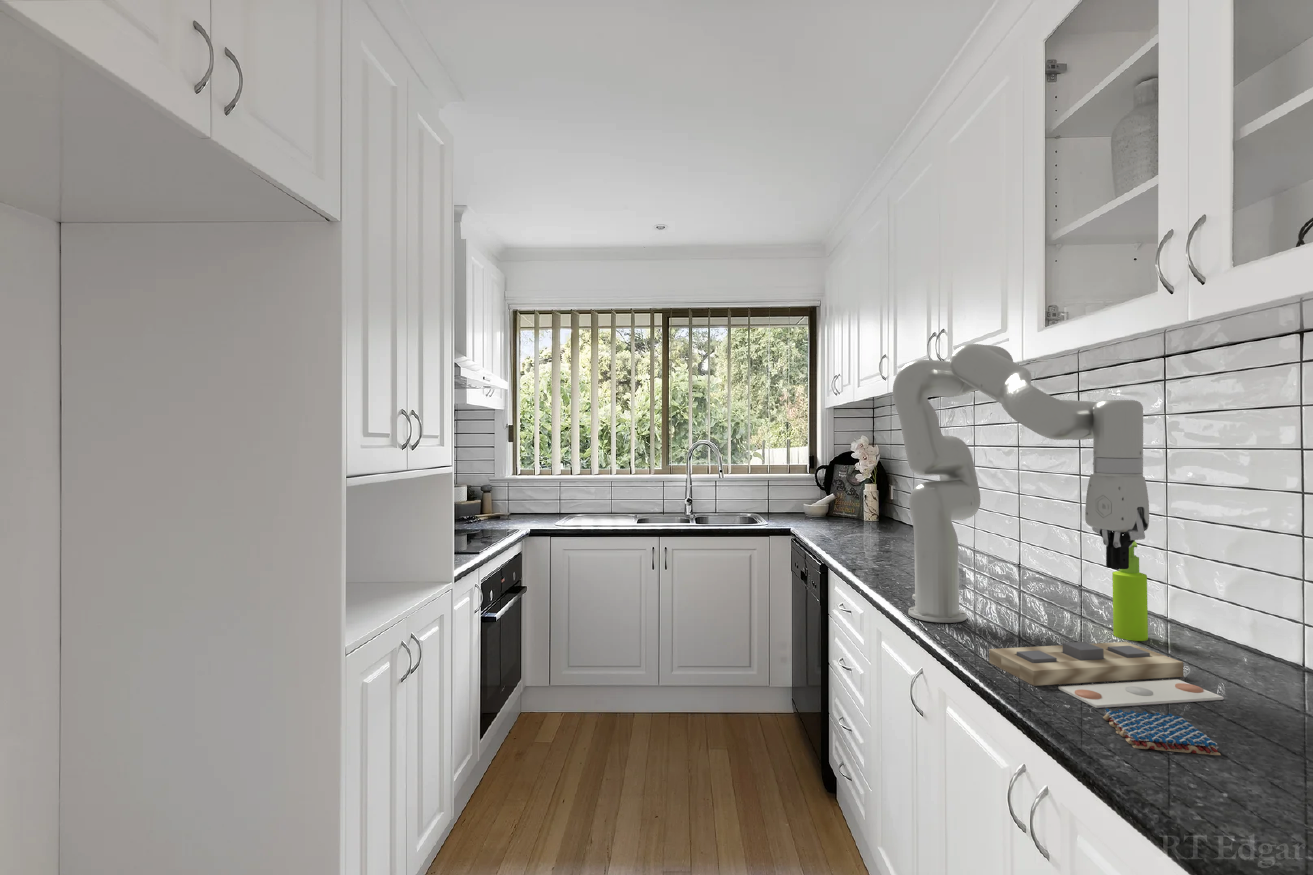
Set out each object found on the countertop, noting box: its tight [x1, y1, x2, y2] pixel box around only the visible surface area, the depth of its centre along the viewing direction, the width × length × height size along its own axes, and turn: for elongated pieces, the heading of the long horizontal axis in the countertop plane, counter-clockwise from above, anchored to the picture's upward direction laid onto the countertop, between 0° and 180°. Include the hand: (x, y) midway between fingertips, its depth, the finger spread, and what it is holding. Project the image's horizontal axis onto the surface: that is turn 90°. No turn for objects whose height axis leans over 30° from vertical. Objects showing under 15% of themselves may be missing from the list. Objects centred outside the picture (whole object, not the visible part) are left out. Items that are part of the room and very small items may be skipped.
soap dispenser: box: [1111, 540, 1149, 642], centre depth 139 cm, size 6×7×20 cm
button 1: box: [1017, 650, 1057, 663], centre depth 119 cm, size 4×4×2 cm
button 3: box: [1108, 646, 1150, 658], centre depth 121 cm, size 4×4×2 cm
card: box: [1058, 678, 1224, 709], centre depth 108 cm, size 22×8×1 cm, turn 97°
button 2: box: [1062, 641, 1104, 661], centre depth 120 cm, size 4×4×2 cm
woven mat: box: [1102, 708, 1222, 756], centre depth 93 cm, size 10×11×2 cm
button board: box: [988, 641, 1184, 687], centre depth 120 cm, size 28×12×2 cm, turn 97°
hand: (1117, 567), depth 123 cm, fingers closed
